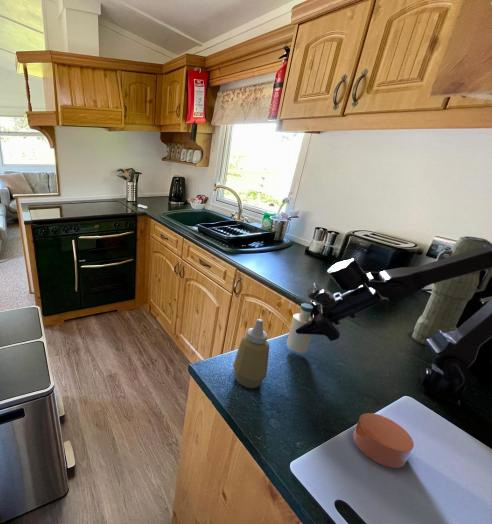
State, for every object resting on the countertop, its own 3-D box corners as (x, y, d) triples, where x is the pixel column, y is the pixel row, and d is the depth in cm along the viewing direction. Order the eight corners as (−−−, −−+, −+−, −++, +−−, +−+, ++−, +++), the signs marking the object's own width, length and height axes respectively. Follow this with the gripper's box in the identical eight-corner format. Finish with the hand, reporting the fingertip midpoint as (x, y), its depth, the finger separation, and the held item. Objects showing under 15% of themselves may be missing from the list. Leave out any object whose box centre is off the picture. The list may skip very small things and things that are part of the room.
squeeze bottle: (238, 365, 80) (249, 307, 74) (268, 379, 75) (282, 319, 69) (226, 381, 74) (236, 320, 68) (257, 397, 69) (272, 333, 63)
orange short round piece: (405, 446, 59) (413, 429, 57) (405, 477, 52) (414, 460, 51) (355, 421, 64) (361, 406, 62) (350, 448, 58) (357, 431, 56)
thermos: (458, 355, 88) (513, 245, 76) (408, 341, 94) (451, 237, 82) (450, 341, 95) (500, 239, 83) (404, 329, 101) (444, 232, 89)
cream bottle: (309, 347, 86) (320, 305, 82) (304, 355, 82) (316, 312, 78) (289, 339, 90) (299, 299, 85) (283, 347, 86) (293, 305, 81)
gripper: (328, 267, 84) (280, 293, 93) (336, 291, 69) (277, 319, 77) (353, 297, 84) (302, 320, 92) (366, 328, 68) (303, 353, 76)
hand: (296, 327), depth 84 cm, fingers closed on cream bottle, 5 cm apart
